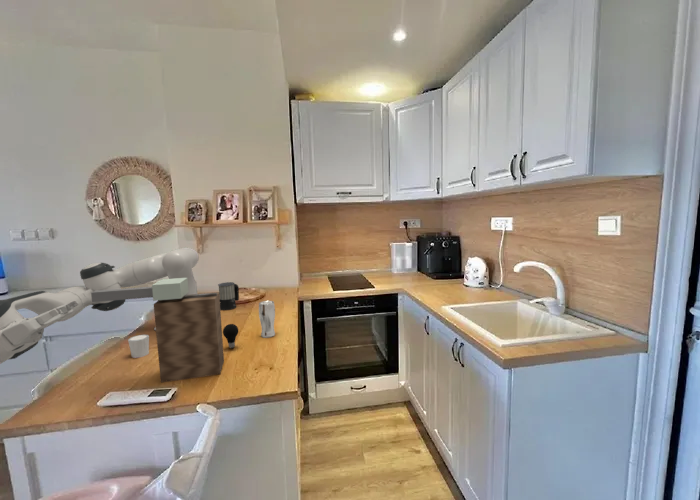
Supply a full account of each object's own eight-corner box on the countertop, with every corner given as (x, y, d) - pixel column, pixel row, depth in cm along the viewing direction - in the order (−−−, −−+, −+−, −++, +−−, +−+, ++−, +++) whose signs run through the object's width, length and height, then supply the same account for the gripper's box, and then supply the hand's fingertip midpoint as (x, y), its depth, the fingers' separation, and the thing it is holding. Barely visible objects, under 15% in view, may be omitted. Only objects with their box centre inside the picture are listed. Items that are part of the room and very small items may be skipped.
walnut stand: (160, 382, 102) (153, 301, 100) (169, 368, 112) (163, 294, 109) (220, 374, 107) (214, 296, 104) (224, 361, 117) (218, 290, 114)
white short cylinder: (136, 351, 128) (134, 334, 127) (154, 350, 128) (152, 333, 128) (125, 359, 121) (123, 341, 120) (144, 357, 122) (142, 340, 121)
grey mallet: (86, 306, 95) (84, 290, 95) (102, 298, 105) (100, 283, 104) (181, 298, 102) (180, 283, 101) (188, 291, 111) (187, 277, 111)
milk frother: (232, 310, 183) (230, 285, 181) (205, 311, 183) (203, 285, 182) (241, 303, 197) (240, 280, 195) (216, 304, 197) (214, 280, 196)
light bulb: (230, 352, 125) (228, 327, 124) (221, 349, 128) (219, 325, 127) (242, 346, 129) (240, 323, 128) (233, 344, 133) (231, 321, 132)
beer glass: (272, 338, 138) (270, 305, 136) (257, 337, 139) (255, 304, 137) (278, 332, 144) (277, 300, 143) (264, 332, 146) (262, 300, 144)
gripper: (52, 329, 106) (92, 305, 108) (4, 354, 86) (54, 325, 89) (38, 314, 105) (79, 290, 107) (-14, 336, 85) (37, 307, 87)
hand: (67, 306), depth 98 cm, fingers open, 8 cm apart
